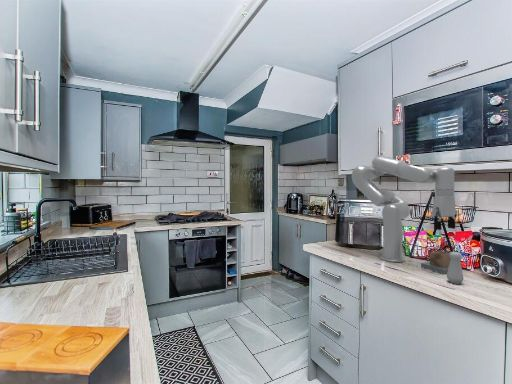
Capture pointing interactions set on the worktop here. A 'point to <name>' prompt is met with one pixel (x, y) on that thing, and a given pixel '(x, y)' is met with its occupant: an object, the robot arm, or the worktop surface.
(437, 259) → the walnut block
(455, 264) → the salt shaker
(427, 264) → the slab
